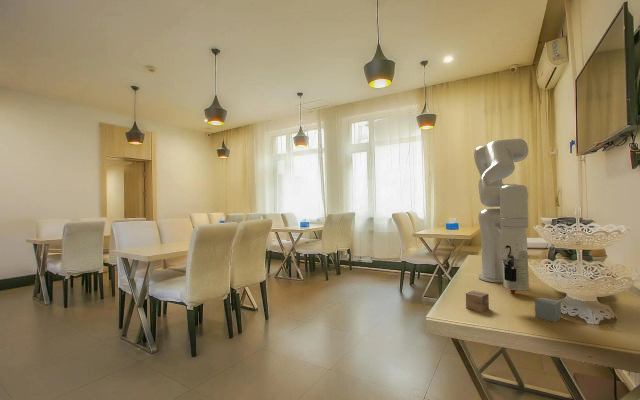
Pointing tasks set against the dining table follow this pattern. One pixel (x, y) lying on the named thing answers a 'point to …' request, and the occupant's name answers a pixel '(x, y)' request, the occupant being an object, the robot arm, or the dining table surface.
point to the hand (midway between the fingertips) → (515, 278)
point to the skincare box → (519, 274)
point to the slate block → (548, 309)
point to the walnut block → (477, 301)
